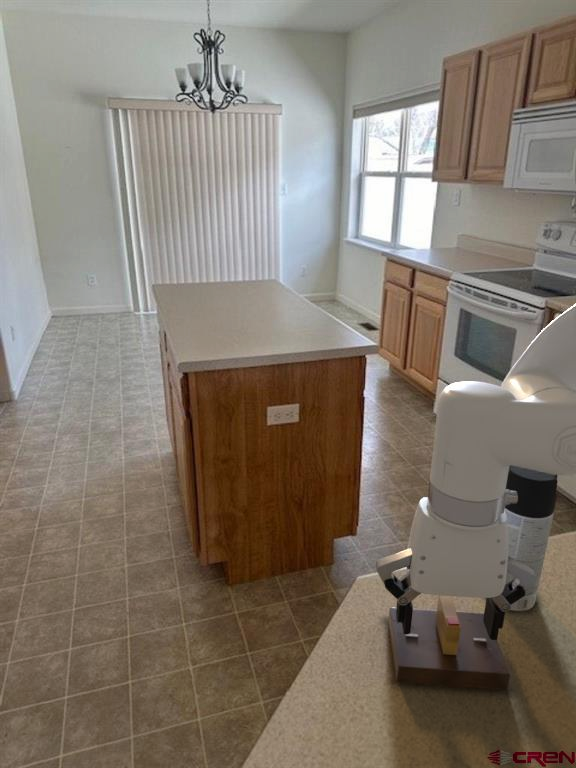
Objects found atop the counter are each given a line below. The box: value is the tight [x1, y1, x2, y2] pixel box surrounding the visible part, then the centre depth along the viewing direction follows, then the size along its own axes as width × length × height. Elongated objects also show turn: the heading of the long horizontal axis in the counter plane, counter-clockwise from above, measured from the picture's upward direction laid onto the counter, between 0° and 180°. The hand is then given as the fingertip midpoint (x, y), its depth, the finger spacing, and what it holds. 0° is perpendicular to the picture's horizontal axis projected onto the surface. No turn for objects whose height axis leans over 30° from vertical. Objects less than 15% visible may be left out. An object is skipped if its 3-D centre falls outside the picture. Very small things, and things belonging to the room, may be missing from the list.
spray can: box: [504, 465, 559, 612], centre depth 69 cm, size 7×7×20 cm
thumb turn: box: [435, 595, 461, 655], centre depth 61 cm, size 5×2×4 cm, turn 176°
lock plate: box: [387, 607, 511, 690], centre depth 63 cm, size 12×9×3 cm
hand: (447, 628), depth 62 cm, fingers open, 9 cm apart
